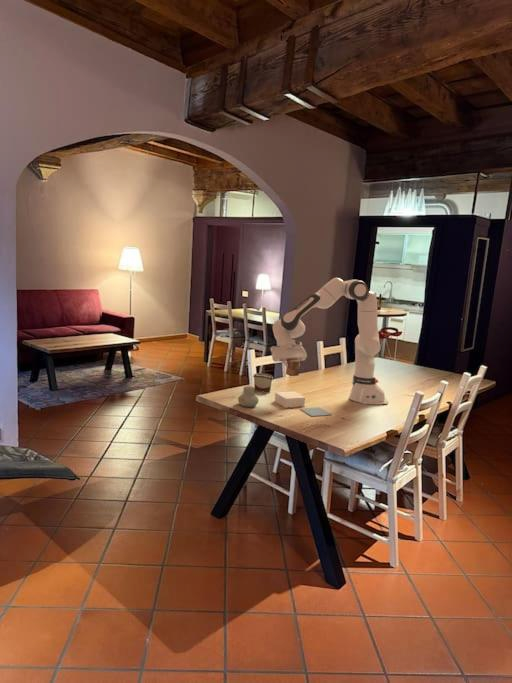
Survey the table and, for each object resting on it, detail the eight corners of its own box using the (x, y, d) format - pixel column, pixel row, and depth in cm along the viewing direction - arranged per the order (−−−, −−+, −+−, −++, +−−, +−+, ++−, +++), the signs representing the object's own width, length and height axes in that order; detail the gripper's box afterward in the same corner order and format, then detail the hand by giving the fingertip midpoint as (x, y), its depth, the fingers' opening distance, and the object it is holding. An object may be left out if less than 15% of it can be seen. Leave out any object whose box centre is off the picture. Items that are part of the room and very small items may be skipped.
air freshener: (235, 403, 250) (236, 385, 249) (248, 401, 255) (249, 384, 254) (247, 409, 242) (249, 390, 240) (260, 407, 247) (261, 389, 245)
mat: (319, 408, 253) (319, 407, 252) (331, 415, 242) (331, 414, 242) (300, 409, 247) (300, 408, 247) (311, 416, 237) (311, 415, 237)
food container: (274, 391, 280) (276, 374, 279) (271, 393, 275) (273, 377, 273) (255, 387, 284) (256, 372, 283) (252, 390, 278) (253, 374, 277)
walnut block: (293, 373, 257) (294, 359, 256) (298, 375, 253) (299, 361, 251) (285, 373, 255) (286, 359, 254) (290, 376, 251) (291, 361, 249)
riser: (293, 399, 264) (294, 391, 264) (304, 406, 254) (305, 397, 253) (274, 401, 259) (275, 392, 259) (285, 407, 249) (285, 398, 248)
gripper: (271, 342, 253) (278, 364, 246) (303, 342, 261) (311, 363, 254) (267, 349, 258) (274, 370, 250) (299, 348, 266) (306, 369, 259)
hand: (293, 366), depth 252 cm, fingers closed on walnut block, 5 cm apart
